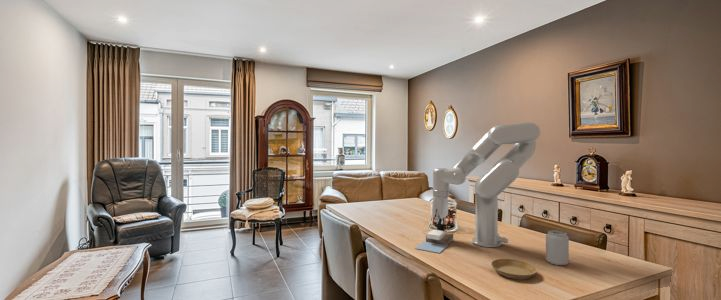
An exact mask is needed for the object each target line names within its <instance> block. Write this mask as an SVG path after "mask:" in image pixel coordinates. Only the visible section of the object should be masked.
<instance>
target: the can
mask: <svg viewBox="0 0 721 300" xmlns="http://www.w3.org/2000/svg"><path fill="white" fill-rule="evenodd" d="M569 245H570V238H569V236H568V233H567V232H565V231H560V230H554V229H553V230H548V231H547V233H546V234H545V260H546V261H547V262H548V263H549V262H550V263H549V264H551V263H552V264H551V265H553V264H555V265H554V266H558V265H564V266H566V265H568V264H569V263H570V262H569V261H570V257H569V255H570V254H569V251H570V247H569Z"/></svg>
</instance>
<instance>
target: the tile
mask: <svg viewBox="0 0 721 300" xmlns="http://www.w3.org/2000/svg"><path fill="white" fill-rule="evenodd" d="M446 233H447V232H446V230H445V231H441V230H437V229H432V230H430V231H429V232H427V233H426V236H427V238H429V239H435V240H440V239H442V238H443V237H445V236H446Z"/></svg>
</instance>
